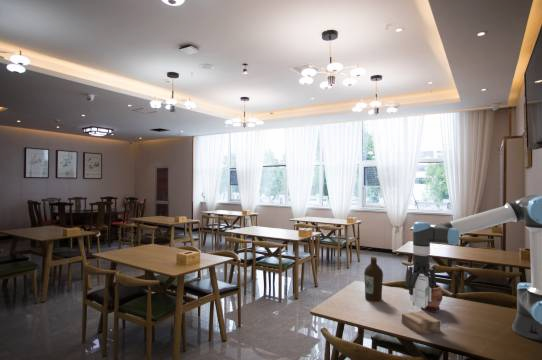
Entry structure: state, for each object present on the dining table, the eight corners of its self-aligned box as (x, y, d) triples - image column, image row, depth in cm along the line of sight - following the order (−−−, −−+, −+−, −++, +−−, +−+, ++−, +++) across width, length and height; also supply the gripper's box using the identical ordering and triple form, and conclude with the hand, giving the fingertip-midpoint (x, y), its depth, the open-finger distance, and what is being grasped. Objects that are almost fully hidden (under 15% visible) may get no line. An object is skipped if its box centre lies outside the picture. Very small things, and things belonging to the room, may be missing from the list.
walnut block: (421, 320, 164) (421, 311, 164) (440, 331, 152) (440, 321, 152) (401, 323, 160) (401, 313, 160) (419, 334, 149) (419, 324, 149)
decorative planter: (440, 319, 165) (440, 292, 165) (414, 313, 172) (415, 287, 172) (443, 306, 182) (444, 282, 182) (420, 302, 189) (420, 278, 189)
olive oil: (373, 294, 200) (373, 254, 200) (386, 300, 191) (387, 258, 191) (360, 297, 195) (360, 256, 195) (373, 303, 186) (373, 260, 186)
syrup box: (415, 302, 160) (416, 273, 160) (428, 305, 157) (429, 275, 157) (412, 305, 156) (412, 275, 156) (425, 308, 152) (425, 278, 152)
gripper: (435, 251, 162) (434, 297, 162) (397, 252, 158) (396, 299, 158) (445, 255, 154) (445, 302, 154) (406, 256, 151) (405, 305, 151)
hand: (420, 300), depth 156 cm, fingers closed on syrup box, 8 cm apart
